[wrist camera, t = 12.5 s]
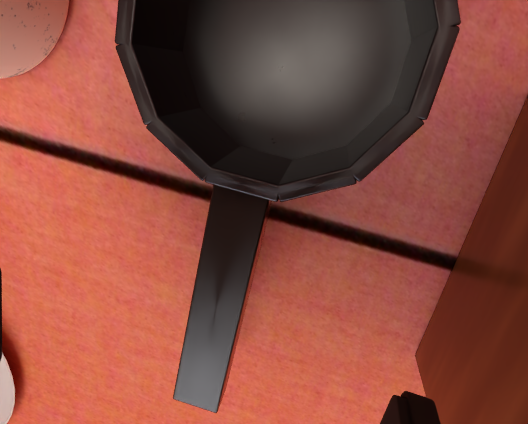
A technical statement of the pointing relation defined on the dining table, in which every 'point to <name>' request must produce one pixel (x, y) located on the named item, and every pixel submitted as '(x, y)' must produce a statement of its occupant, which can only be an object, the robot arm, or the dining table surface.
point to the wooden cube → (486, 307)
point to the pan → (273, 122)
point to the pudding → (6, 392)
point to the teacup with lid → (28, 33)
